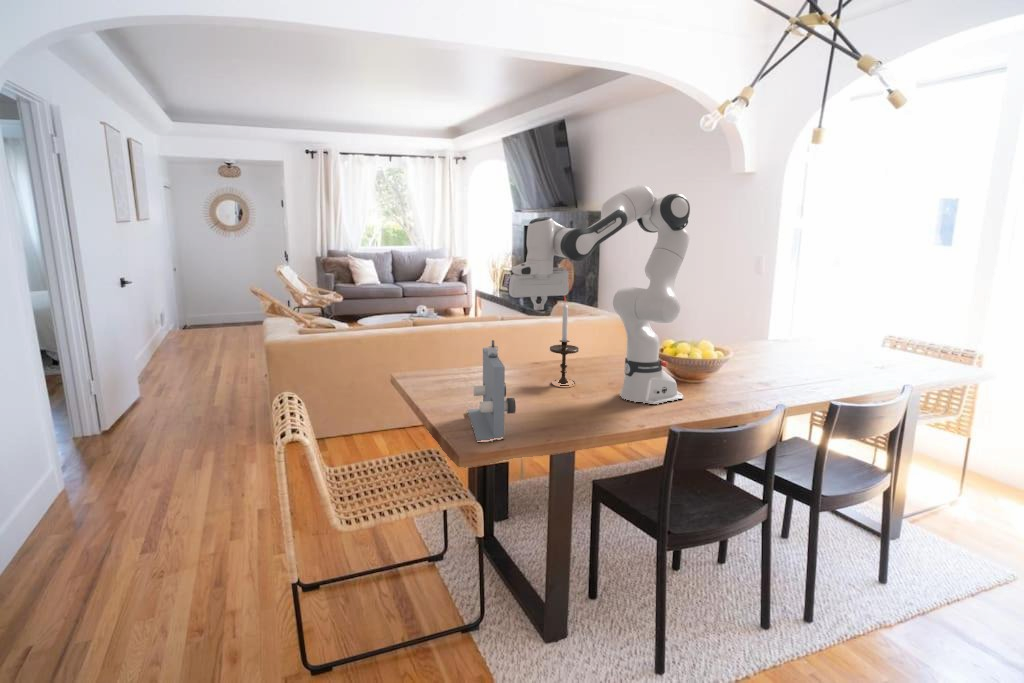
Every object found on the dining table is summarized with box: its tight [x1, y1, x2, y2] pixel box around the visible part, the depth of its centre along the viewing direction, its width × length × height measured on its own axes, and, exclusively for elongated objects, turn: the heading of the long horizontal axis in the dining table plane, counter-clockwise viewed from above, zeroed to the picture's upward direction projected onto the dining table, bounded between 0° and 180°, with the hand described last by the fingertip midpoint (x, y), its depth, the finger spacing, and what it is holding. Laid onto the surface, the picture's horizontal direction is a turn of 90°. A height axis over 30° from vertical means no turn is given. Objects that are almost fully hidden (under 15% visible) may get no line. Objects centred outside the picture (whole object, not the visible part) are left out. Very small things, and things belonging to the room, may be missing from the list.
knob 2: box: [479, 397, 517, 415], centre depth 171 cm, size 10×5×5 cm, turn 100°
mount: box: [467, 347, 506, 442], centre depth 178 cm, size 8×26×22 cm, turn 10°
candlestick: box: [549, 295, 580, 386], centre depth 221 cm, size 11×11×35 cm
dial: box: [487, 339, 499, 358], centre depth 175 cm, size 3×3×5 cm
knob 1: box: [472, 383, 507, 398], centre depth 186 cm, size 10×5×5 cm, turn 100°
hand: (538, 309), depth 195 cm, fingers closed
